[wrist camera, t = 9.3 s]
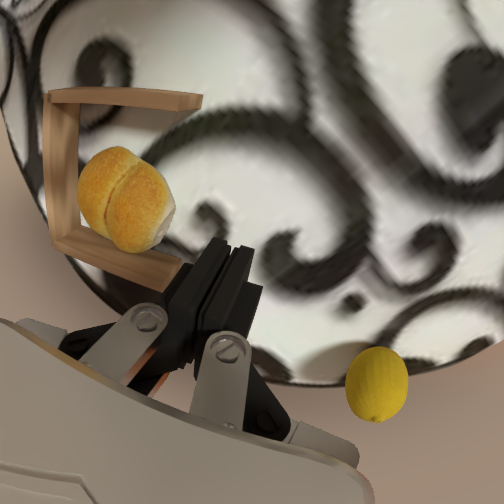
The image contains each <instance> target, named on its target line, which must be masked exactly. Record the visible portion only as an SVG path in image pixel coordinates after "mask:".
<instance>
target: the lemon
mask: <svg viewBox="0 0 504 504" xmlns="http://www.w3.org/2000/svg"><path fill="white" fill-rule="evenodd" d="M345 390H346V397H347V400H348V403H349V406H350V408H351V410H352V411H353V413H354V414H355V415H356V416H358V417H359V418H361V419H363V420H365V421H369V422H375V423H381V422H382V421H384V420H386V419H389V418H390V417H392V416H394V415H395V414H396V413H397V412H398V411H399V410H400V408H401V407H402V405H403V404H404V402H405V399H406V396H407V391H408V373H407V370H406V367H405V364H404V362H403V360H402V358H401V357H400V356H399V355H398V354H397V353H396V352H395V351H393V350H391V349H389V348H386V347H372V348H368V349H366V350H364V351H362V352H361V353H360V354H358V355H357V356H356V357H355V359H354V360H353V361H352V362H351V364H350V366H349V369H348V371H347V375H346V384H345Z"/></svg>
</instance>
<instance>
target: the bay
mask: <svg viewBox="0 0 504 504" xmlns="http://www.w3.org/2000/svg"><path fill="white" fill-rule="evenodd" d="M202 99H203V95H202V94H195V93H187V92H178V91H169V90H159V89H146V88H130V87H71V88H63V89H56V90H49V91H48V93H46V94H44V104H43V173H44V188H45V199H46V208H47V217H48V224H49V231H50V238H51V244H52V246H54V247H55V249H56V250H58V251H60V252H62V253H65V254H67V255H69V256H72V257H74V258H76V259H78V260H81V261H83V262H85V263H88V264H90V265H93V266H95V267H97V268H100V269H102V270H105V271H107V272H110V273H112V274H115V275H117V276H120V277H122V278H125V279H127V280H130V281H132V282H135V283H137V284H140V285H143V286H145V287H148V288H151V289H153V290H156V291H159V292H161V293H163V291H164V290H165V289H166V287H167V286H168V285H169V283H170V282H171V281H172V279H173V278H174V276H175V275H176V274H177V272H178V271H179V269H180V268H181V260H182V259H179V258H176V257H173V256H170V255H167V254H164V253H161V252H158V251H155V250H152V249H149V250H146V251H144V252H142V253H126V252H124V251H121V250H120V249H118V248H117V247H116V246H115V244H114V243H113V241H111V240H110V239H107V238H105V237H103V236H101V235H99V234H98V233H96V232H95V231H94V230H93V229H91V228H88V227H85V226H82V225H81V220H80V208H79V205H78V201H77V185H78V136H79V116H80V103H90V104H108V105H122V106H133V107H143V108H152V109H161V110H168V111H176V112H179V111H186V110H193V109H200V108H201V105H202Z"/></svg>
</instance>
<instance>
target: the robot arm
mask: <svg viewBox="0 0 504 504" xmlns="http://www.w3.org/2000/svg"><path fill="white" fill-rule="evenodd" d="M254 250H255V249H253V248H249V247H246V246H243V245H241V246H240V248H236V247H235V248H234V249H233V251H232V253H231V255H230V252H231V246H230V245H227V241H226V240H222V239H219V238H216V237H213V238H212V240H211V241H210V243H209V244H208V246H207V247H206V248H205V250H204V251H203V253H202V254H201V256H200V257H199V259H198V260H197V262H196V263H195V264H194V265H193V264H190V263H187V262H186V263H184V264H183V265H182V267H181V268H180V269H179V271H178V272H177V274H176V275H175V276H174V278H173V279H172V281H171V282H170V283H169V285H168V286H167V288H166V289H165V290H164V292H163V293H162V295H161V296H160V297H159V299H158V300H157V302H156V303H155V304H153V303H141V304H138V305H135V306H134V307H132V308H131V309H129V310H128V311H127V312H126V313H125V314H124V315H123V316H122V317H121V318H120V319H119V320H118V322H114V323H110V324H106V325H101V326H97V327H92V328H88V329H83V330H78V331H74V332H72V333H67V330H65V329H61V328H58V327H55V326H51V325H48V324H45V323H42V322H39V321H35V320H33V319H28V318H25V319H21V320H19V321H18V322H16V323H14V322H12V321H9V320H6V319H2V318H0V504H375V496H374V491H373V488H372V486H371V483H370V482H369V480H368V479H367V478H366V477H365V476H364V475H363V474H361V473H360V472H359V471H358V470H356V469H357V466H358V463H359V458H360V454H359V451H358V449H357V447H356V446H355V445H354V444H353V443H351V442H350V441H348V440H345V439H342V438H340V437H338V436H335V435H333V434H330V433H328V432H325V431H323V430H321V429H318V428H316V427H314V426H311V425H309V424H307V423H305V422H303V421H300V422H297V421H295V420H293V419H291V418H289V416H288V414H287V412H286V411H285V410H284V408H283V407H282V406H281V404H280V403H279V402H278V400H277V399H276V397H275V396H274V394H273V393H272V392H271V390H270V389H269V388H268V386H267V385H266V383H265V382H264V380H263V379H262V377H261V376H260V375H259V373H258V372H257V370H256V369H255V367H254V366H253V364H252V363H251V362H250V360H251V346H250V344H249V342H248V341H247V340H246V339H247V337H248V334H249V331H250V328H251V325H252V322H253V319H254V316H255V313H256V310H257V306H258V303H259V300H260V296H261V293H262V289H263V286H260V285H257V284H253V283H250V282H247V281H248V276H249V272H250V268H251V264H252V259H253V255H254ZM194 357H195V364H194V377H195V380H196V385H195V389H194V394H193V398H192V402H191V406H190V411H189V413H186V412H184V411H181V410H179V409H176V408H173V407H171V406H169V405H166V404H164V403H161V402H159V401H157V400H154V399H152V398H153V396H154V395H155V393H156V392H157V391H158V390H159V388H160V387H161V386H162V384H163V383H164V381H165V380H166V379H167V377H168V375H169V373H170V372H172V371H174V370H177V369H178V368H181V369H184V367H185V365H186V363H190V364H191V363H192V361H193V359H194Z"/></svg>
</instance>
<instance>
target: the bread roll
mask: <svg viewBox="0 0 504 504" xmlns="http://www.w3.org/2000/svg"><path fill="white" fill-rule="evenodd" d="M77 201H78V205H79V208H80V210H81V212H82V214H83V216H84V218H85V219H86V221H87V223H88V224H89V226H90V228H91V229H93V230H94V231H95V232H96V233H98V234H99V235H101V236H103V237H105V238H107V239H110V240H111V241H113V243H114V244H115V246H116V247H117V248H118V249H120V250H121V251H124V252H126V253H142V252H144V251H146V250H149V249H151V248H152V247H153V246H155V245H157V244H159V243H160V241H161V240H162V238H163V236H164V235H165V233H166V231H167V230H168V228H169V226H170V223H171V221H172V218H173V215H174V213H175V210H176V205H175V201H174V198H173V195H172V193H171V191H170V188H169V186H168V184H167V182H166V180H165V178H164V177H163V175H162V174H161V173H160V172H158V171H157V170H156V169H155V168H154V167H153V166H151V165H150V164H148V163H146V162H145V161H143V160H141V159H140V158H138V157H137V156H136V155H135V154H133V153H132V152H131V151H129V150H128V149H126V148H124V147H120V146H116V147H110V148H108V149H106V150H103V151H101V152H99V153H98V154H96V155H95V156H93V157H92V159H91V160H90V161H89V162H88V163H87V165H86V166H85V167H84V169H83V171H82V172H81V175H80V177H79V181H78V185H77Z"/></svg>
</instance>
